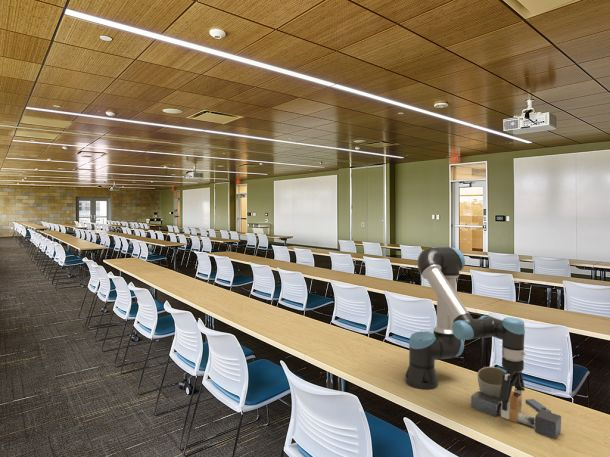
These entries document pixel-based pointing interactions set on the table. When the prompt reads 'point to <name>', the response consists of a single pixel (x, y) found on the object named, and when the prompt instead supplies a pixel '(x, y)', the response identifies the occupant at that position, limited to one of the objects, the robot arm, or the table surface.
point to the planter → (490, 380)
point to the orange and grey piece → (517, 411)
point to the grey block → (485, 403)
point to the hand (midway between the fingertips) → (511, 411)
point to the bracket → (536, 405)
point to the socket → (548, 424)
